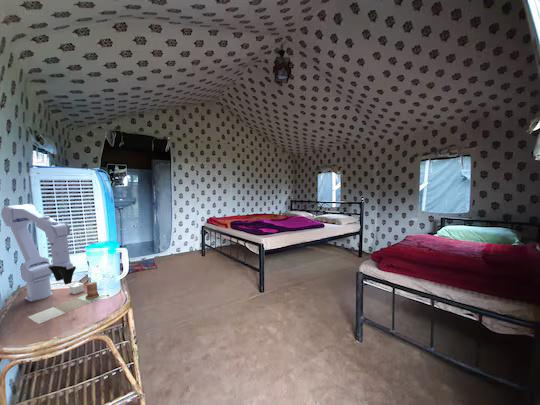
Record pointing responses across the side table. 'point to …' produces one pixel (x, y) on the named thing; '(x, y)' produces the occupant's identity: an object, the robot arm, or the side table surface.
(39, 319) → the board
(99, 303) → the side table surface
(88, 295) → the pawn
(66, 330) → the side table surface
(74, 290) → the die
